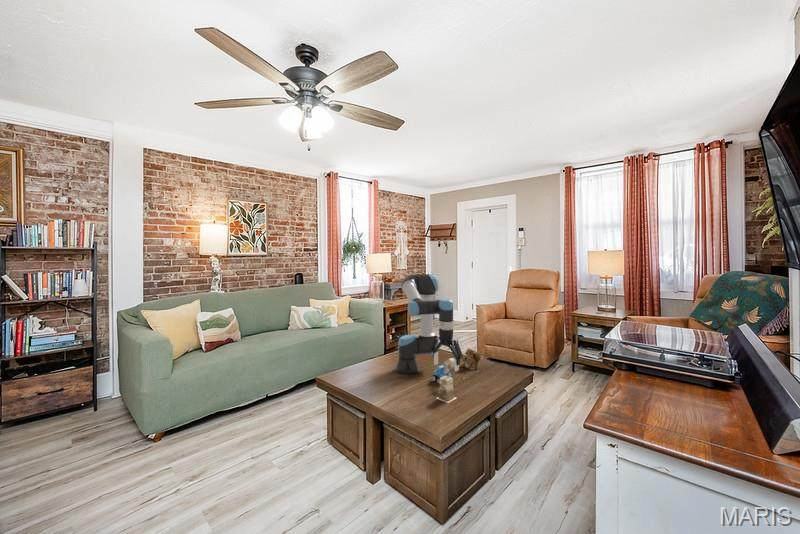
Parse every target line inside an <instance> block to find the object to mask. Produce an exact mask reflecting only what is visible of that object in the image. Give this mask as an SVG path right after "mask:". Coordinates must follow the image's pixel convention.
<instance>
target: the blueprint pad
mask: <svg viewBox="0 0 800 534" xmlns="http://www.w3.org/2000/svg"><path fill="white" fill-rule="evenodd" d="M456 399H457V397H455V396H454V398H453V399H452V400H450V401H448V402H447V401H445V400H442V399H439V396H438V397H436V400H439V401H442V402H443V403H444V402H445V403H447V404H449V403H450V402H452V401H454V400H456Z"/></svg>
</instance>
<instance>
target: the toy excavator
mask: <svg viewBox="0 0 800 534" xmlns="http://www.w3.org/2000/svg"><path fill="white" fill-rule="evenodd" d="M454 360H455V358H453V357H451V358H448V359H447V360H445V361H444V363H443V365H438V366H436V367H435V370H434V372H433V375H432V376H431V377H432V381H433V382H436V383H437V384H438V385H440V378H442V377H444V376H448V377H451V378H452V374H451V373H450V369H449V368H454Z"/></svg>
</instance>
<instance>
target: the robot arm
mask: <svg viewBox="0 0 800 534" xmlns="http://www.w3.org/2000/svg"><path fill="white" fill-rule="evenodd" d="M401 290H402V293H404V294H405V296H406V297H407V299H408V300H407V301H408V303H407V304H408V305H407V311H408V314H409V315H410V316H420V332H419V333H418V336H416V335H415V334H405V335H402V336H400V337H399V338H398V342H397V343H398V344H397V346H398V360H397V365H396V367H395V368H396V370H395V371H396V372H397V373H399V374H402V375H412V374H416V373H418V372H419V365H418V362H417V355H419V356H420V355H432V358H433V365H434V366H436V365H439V349H441V347H442V346H444V347H448V349H449V350H450V351H451V353H452V354H453V356H454V367H453V368H454V372H457V371H459V369H460V365H461V359H463V358H464V353H463V352H462V350H461V348H460V344H459V340H458V338H457V339H454V338H453V336H454V329H453V328H454V301H453V300H452V299H449V298H442V299H436V300H434V296H435V295H436V292H438V290H439V283H438V279H437V277H436V275H434V274H430V273H426V274H424V273H423V274H420V273H419V274H410V275H408V276H406V277H405V278H404V279H402V283H401ZM434 315H438V327H439V329H438V334H436V333H435V331H434Z"/></svg>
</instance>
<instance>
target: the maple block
mask: <svg viewBox="0 0 800 534" xmlns="http://www.w3.org/2000/svg"><path fill="white" fill-rule="evenodd" d="M439 389H441V390H443V391H446V392H448V391H450V390H452V389H454V378H453V377H452V376H451V377H448V376H444V377H442V378H440V384H439Z"/></svg>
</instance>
